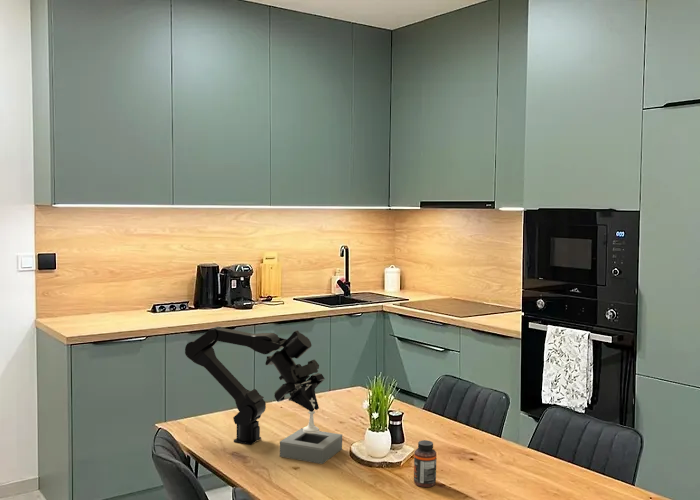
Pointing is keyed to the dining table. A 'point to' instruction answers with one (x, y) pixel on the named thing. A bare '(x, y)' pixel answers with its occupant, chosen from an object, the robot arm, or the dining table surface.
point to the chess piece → (311, 422)
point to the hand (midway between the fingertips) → (315, 410)
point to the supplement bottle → (425, 464)
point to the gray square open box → (311, 446)
